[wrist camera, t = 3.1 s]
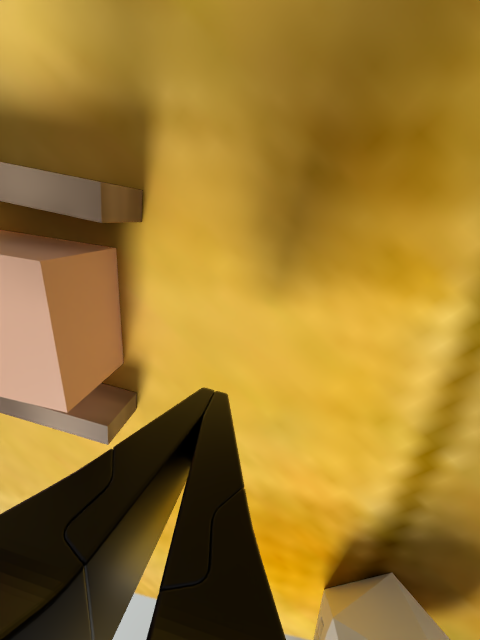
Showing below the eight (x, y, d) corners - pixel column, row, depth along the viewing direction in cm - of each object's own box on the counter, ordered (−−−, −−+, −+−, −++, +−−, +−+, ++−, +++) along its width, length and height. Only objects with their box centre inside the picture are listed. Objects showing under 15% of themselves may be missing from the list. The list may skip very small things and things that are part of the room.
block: (27, 340, 15) (-61, 382, 11) (1, 229, 12) (-121, 234, 9) (125, 361, 14) (67, 412, 10) (118, 247, 12) (39, 261, 8)
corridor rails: (-47, 357, 16) (-103, 381, 13) (-113, 139, 11) (-214, 119, 9) (136, 409, 15) (108, 444, 12) (142, 190, 10) (100, 182, 8)
